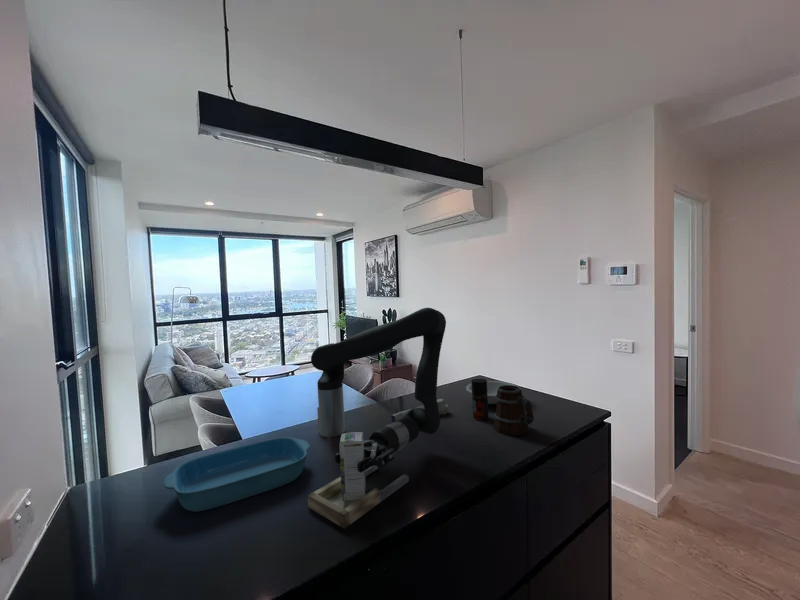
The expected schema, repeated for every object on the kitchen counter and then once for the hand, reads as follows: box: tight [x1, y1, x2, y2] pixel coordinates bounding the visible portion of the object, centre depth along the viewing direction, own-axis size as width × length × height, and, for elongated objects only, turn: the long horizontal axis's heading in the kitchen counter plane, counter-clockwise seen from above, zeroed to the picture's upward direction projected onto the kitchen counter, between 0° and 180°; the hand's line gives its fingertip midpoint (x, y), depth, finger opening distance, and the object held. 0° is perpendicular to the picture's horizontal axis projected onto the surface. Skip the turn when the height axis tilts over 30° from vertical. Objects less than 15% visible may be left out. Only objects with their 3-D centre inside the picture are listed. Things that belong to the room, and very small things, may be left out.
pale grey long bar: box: [390, 398, 449, 423], centre depth 140 cm, size 5×7×25 cm
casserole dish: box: [163, 436, 311, 513], centre depth 96 cm, size 37×22×7 cm, turn 124°
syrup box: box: [339, 431, 367, 501], centre depth 86 cm, size 6×6×14 cm
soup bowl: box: [465, 380, 522, 405], centre depth 155 cm, size 24×24×7 cm
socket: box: [307, 476, 381, 529], centre depth 83 cm, size 12×13×3 cm
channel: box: [365, 466, 410, 503], centre depth 92 cm, size 12×13×2 cm
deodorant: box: [470, 378, 490, 422], centre depth 136 cm, size 6×6×15 cm
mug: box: [493, 385, 535, 436], centre depth 122 cm, size 16×12×15 cm
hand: (346, 463), depth 84 cm, fingers closed on syrup box, 8 cm apart
